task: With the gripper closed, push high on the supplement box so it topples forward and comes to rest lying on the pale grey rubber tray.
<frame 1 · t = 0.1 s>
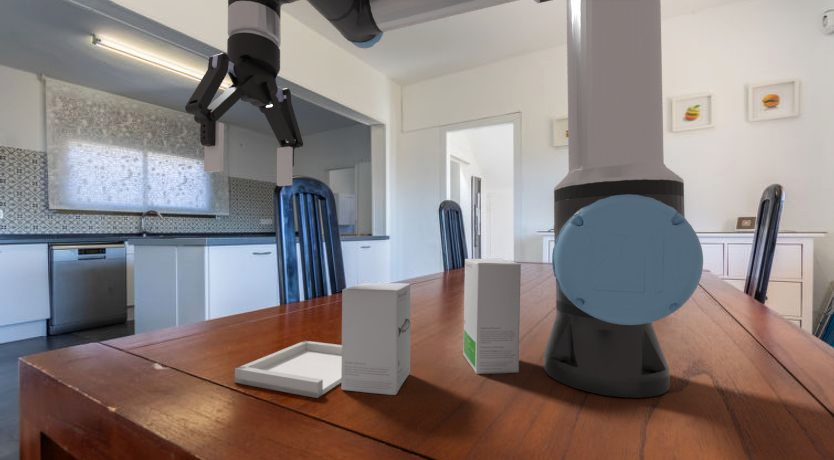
hand: (253, 179, 56), 28 cm above the table, fingers open, 13 cm apart
skincare box: (490, 365, 54), on the table
supplement box: (377, 383, 47), on the table
grey tray: (309, 370, 51), on the table
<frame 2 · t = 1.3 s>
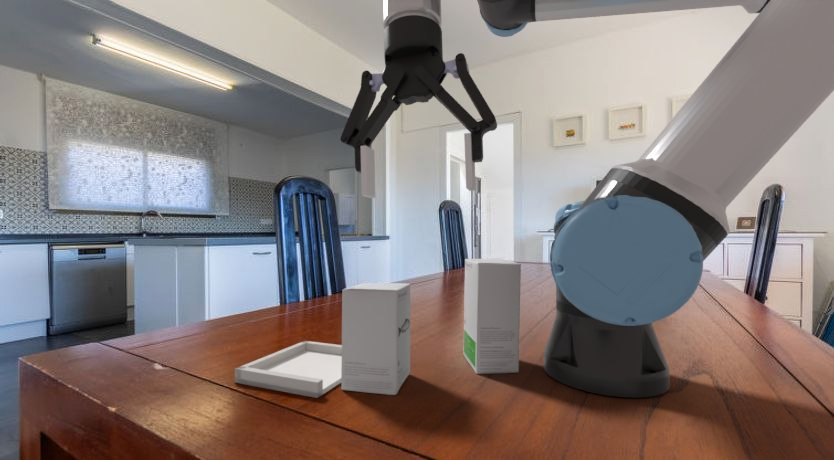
hand: (417, 193, 46), 24 cm above the table, fingers open, 13 cm apart
nothing on the table moved.
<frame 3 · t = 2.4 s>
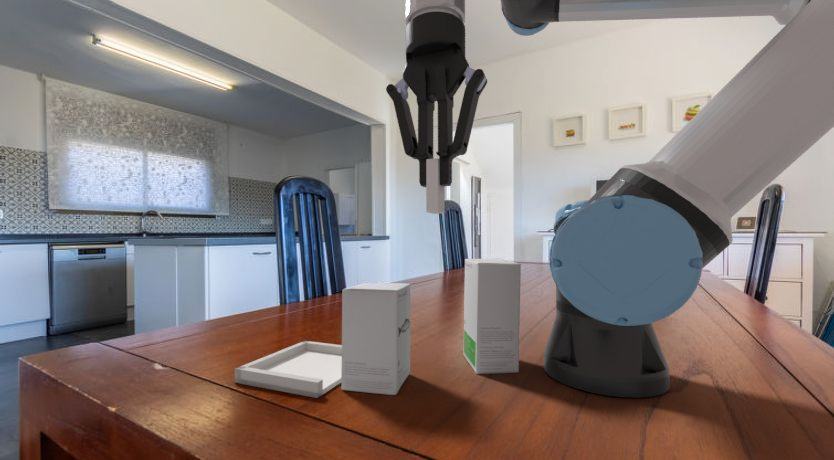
hand: (435, 212, 45), 22 cm above the table, fingers closed
nothing on the table moved.
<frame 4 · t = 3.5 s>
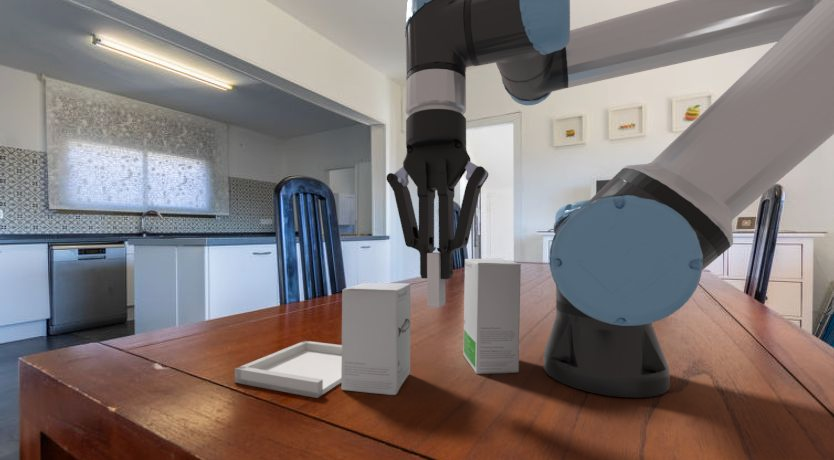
hand: (436, 305, 45), 10 cm above the table, fingers closed
nothing on the table moved.
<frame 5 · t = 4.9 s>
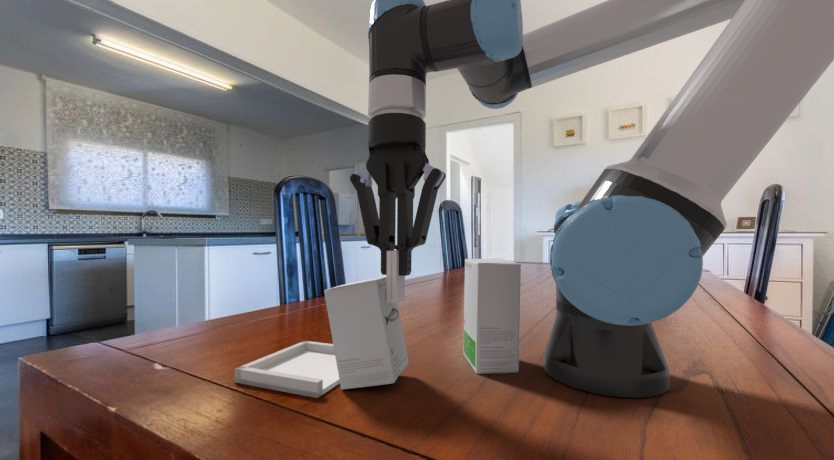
hand: (395, 300, 47), 11 cm above the table, fingers closed
supplement box: (377, 377, 47), on the table, touching gripper
everything else where it was.
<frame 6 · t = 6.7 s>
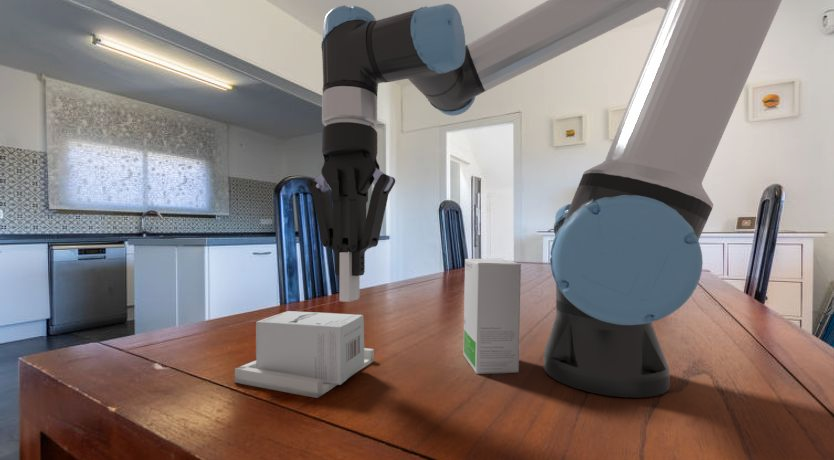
hand: (349, 299, 49), 10 cm above the table, fingers closed
supplement box: (355, 347, 48), point 4 cm above the table, touching grey tray
everything else where it was.
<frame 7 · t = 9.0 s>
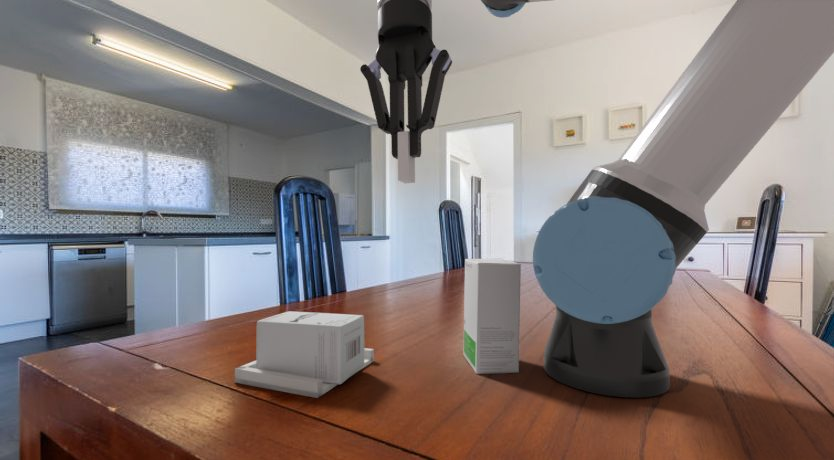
hand: (406, 181, 49), 27 cm above the table, fingers closed
nothing on the table moved.
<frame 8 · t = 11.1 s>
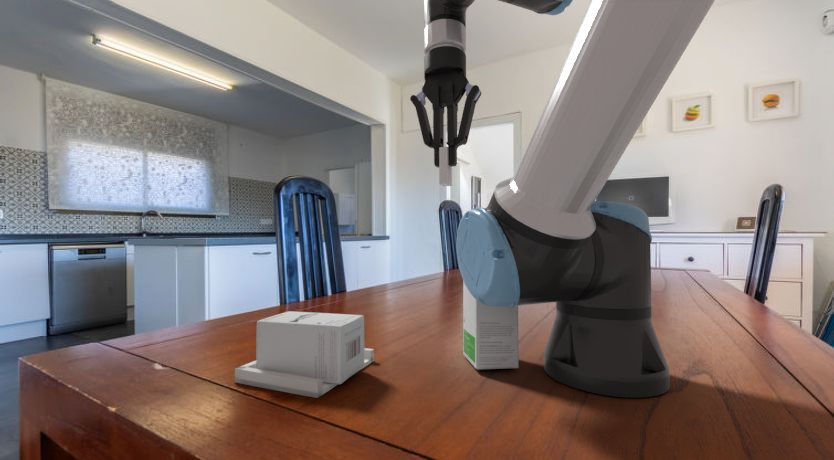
hand: (445, 184, 64), 28 cm above the table, fingers closed
skincare box: (490, 363, 54), on the table, touching arm
everything else where it was.
at the end: supplement box tilted 90°; supplement box inside the target area on the grey tray (5.8 cm from its centre), point 4.3 cm above the grey tray's base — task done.
